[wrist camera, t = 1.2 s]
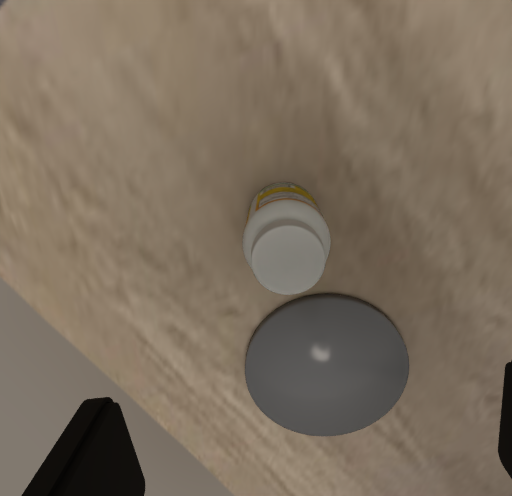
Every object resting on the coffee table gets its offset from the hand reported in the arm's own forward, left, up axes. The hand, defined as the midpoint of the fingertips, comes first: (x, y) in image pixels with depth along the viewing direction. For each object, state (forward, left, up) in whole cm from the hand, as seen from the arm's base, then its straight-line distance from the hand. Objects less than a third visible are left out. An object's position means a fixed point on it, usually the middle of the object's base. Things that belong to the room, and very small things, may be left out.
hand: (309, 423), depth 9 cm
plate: (-2, +14, -21) cm, 25 cm away
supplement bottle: (0, 0, -21) cm, 21 cm away
